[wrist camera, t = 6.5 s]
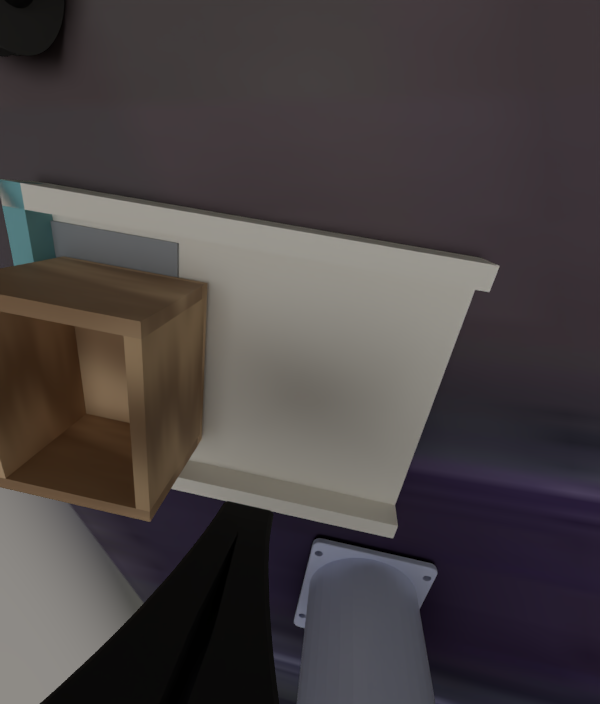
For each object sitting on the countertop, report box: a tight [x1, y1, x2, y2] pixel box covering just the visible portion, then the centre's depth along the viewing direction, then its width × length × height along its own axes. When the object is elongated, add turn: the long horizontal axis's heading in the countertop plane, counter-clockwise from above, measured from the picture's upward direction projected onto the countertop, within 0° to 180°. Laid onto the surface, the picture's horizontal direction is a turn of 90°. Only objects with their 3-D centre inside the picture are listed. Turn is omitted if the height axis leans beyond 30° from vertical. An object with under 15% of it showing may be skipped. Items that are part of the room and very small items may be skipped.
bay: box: [0, 179, 500, 538], centre depth 17 cm, size 15×20×2 cm
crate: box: [0, 256, 207, 522], centre depth 15 cm, size 9×7×6 cm
